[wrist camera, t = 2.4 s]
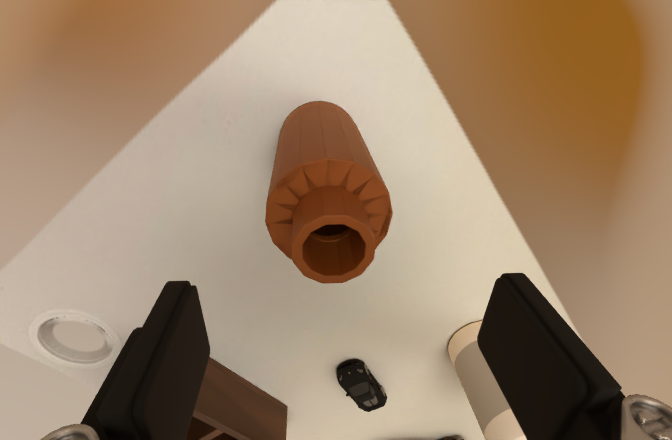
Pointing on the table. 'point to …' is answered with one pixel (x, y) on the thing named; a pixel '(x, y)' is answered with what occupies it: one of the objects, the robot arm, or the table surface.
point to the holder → (235, 409)
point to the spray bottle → (482, 387)
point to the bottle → (326, 195)
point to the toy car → (361, 385)
